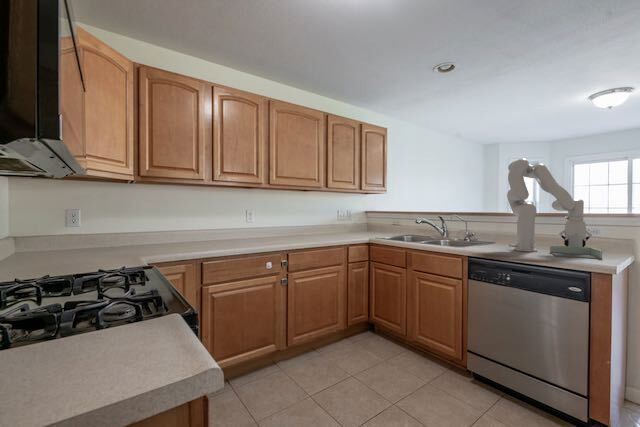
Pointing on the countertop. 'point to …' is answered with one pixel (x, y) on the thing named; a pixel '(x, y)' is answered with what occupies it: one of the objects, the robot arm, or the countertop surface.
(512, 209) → the robot arm
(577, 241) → the can
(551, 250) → the arena
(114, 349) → the countertop surface
